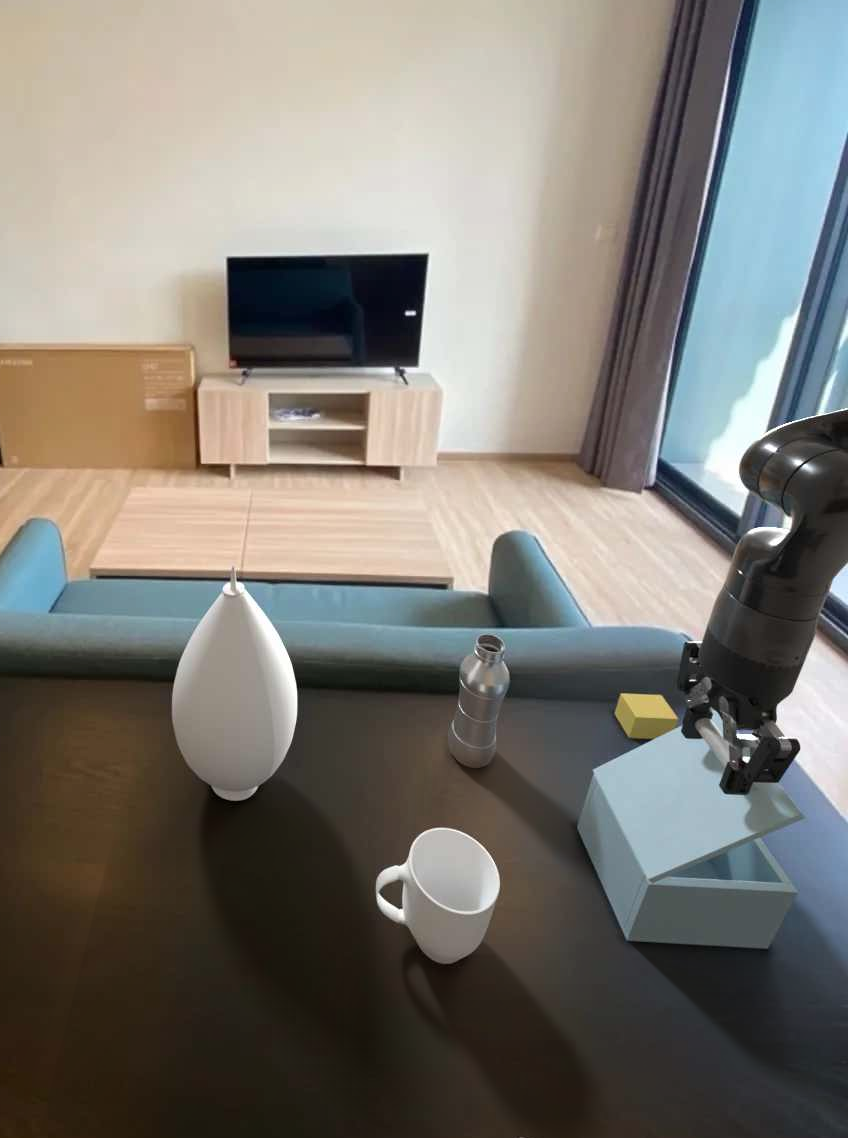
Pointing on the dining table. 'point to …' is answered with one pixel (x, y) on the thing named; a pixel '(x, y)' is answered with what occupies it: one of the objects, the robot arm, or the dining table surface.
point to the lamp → (234, 696)
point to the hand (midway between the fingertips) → (710, 762)
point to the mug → (444, 893)
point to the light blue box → (687, 888)
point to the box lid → (688, 801)
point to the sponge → (645, 715)
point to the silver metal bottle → (479, 702)
